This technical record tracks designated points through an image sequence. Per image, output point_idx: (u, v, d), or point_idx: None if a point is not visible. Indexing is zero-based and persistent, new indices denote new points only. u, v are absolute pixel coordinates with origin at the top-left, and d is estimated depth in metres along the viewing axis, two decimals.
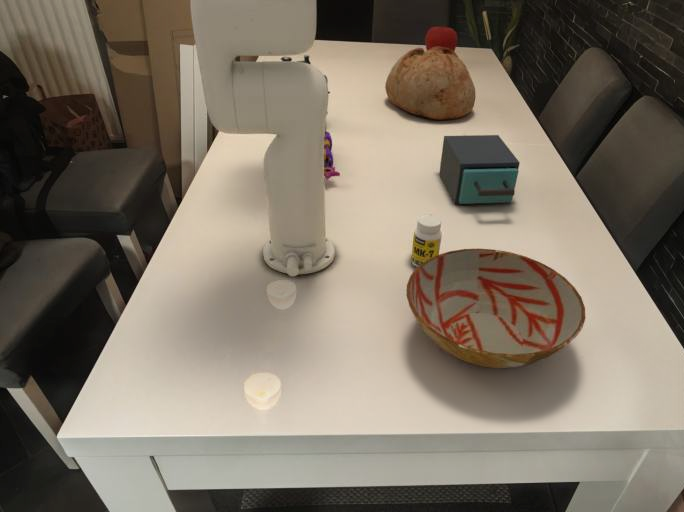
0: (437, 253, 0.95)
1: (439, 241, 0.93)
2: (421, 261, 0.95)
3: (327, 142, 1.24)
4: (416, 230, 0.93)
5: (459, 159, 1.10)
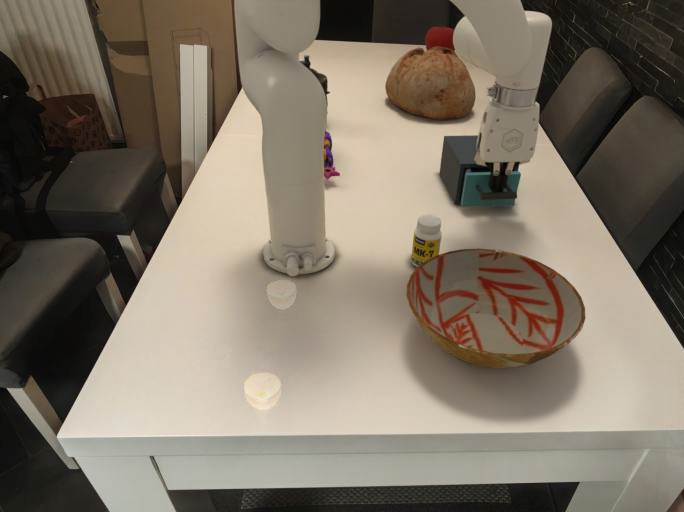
0: (437, 253, 0.95)
1: (439, 241, 0.93)
2: (421, 261, 0.95)
3: (327, 142, 1.24)
4: (416, 230, 0.93)
5: (459, 159, 1.10)
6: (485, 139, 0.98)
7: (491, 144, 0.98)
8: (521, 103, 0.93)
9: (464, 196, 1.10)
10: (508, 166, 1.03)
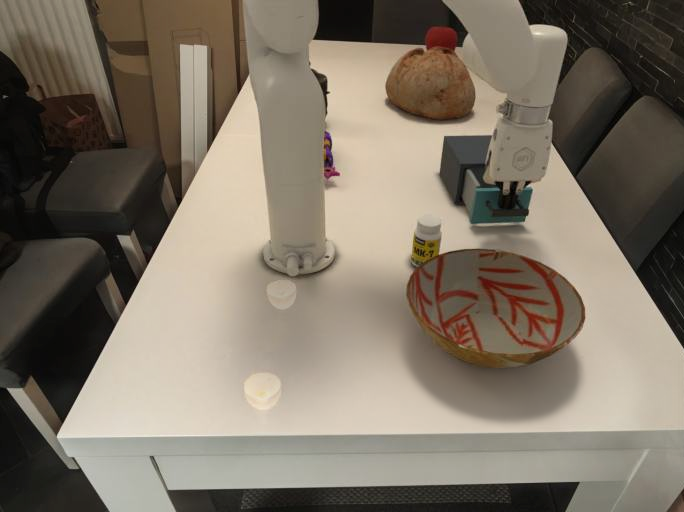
0: (437, 253, 0.95)
1: (439, 241, 0.93)
2: (421, 261, 0.95)
3: (327, 142, 1.24)
4: (416, 230, 0.93)
5: (459, 159, 1.10)
6: (495, 157, 0.93)
7: (502, 163, 0.94)
8: (534, 121, 0.88)
9: (473, 213, 1.05)
10: (518, 185, 0.99)
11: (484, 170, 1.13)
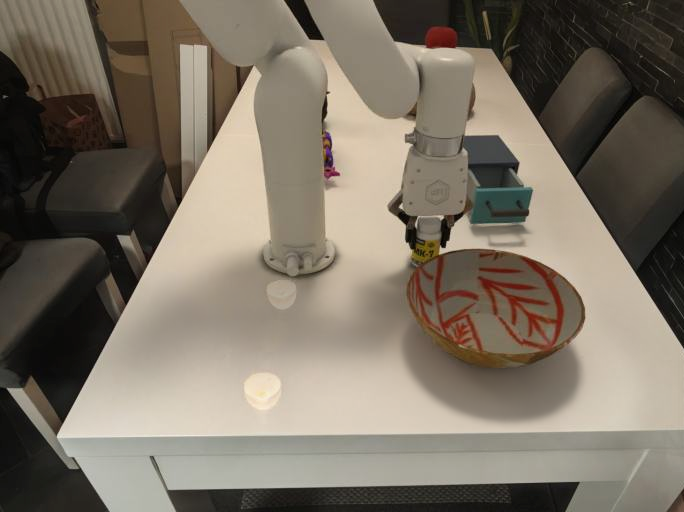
0: (437, 253, 0.95)
1: (439, 241, 0.93)
2: (421, 261, 0.95)
3: (327, 142, 1.24)
4: None
5: None
6: (406, 191, 0.85)
7: (414, 197, 0.86)
8: (443, 153, 0.80)
9: (473, 213, 1.05)
10: (447, 219, 0.91)
11: (484, 170, 1.13)
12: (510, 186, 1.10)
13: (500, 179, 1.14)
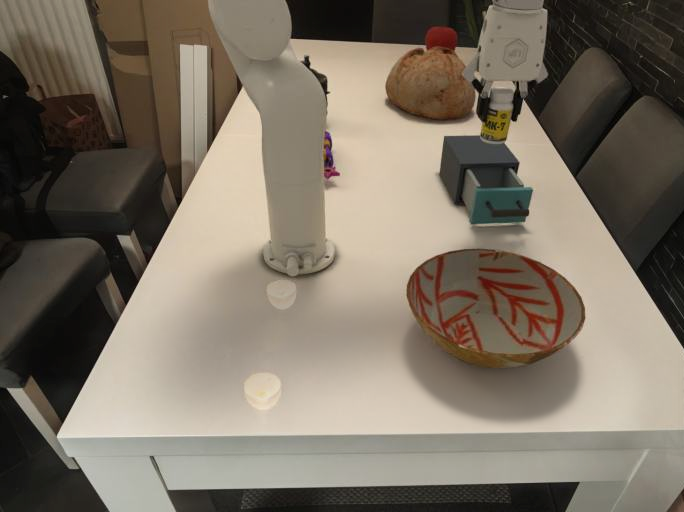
0: (508, 127, 0.95)
1: (511, 113, 0.94)
2: (491, 135, 0.95)
3: (327, 142, 1.24)
4: None
5: (459, 159, 1.10)
6: (485, 51, 0.86)
7: (492, 57, 0.86)
8: (526, 5, 0.81)
9: (473, 213, 1.05)
10: (521, 88, 0.91)
11: (484, 170, 1.13)
12: (510, 186, 1.10)
13: (500, 179, 1.14)
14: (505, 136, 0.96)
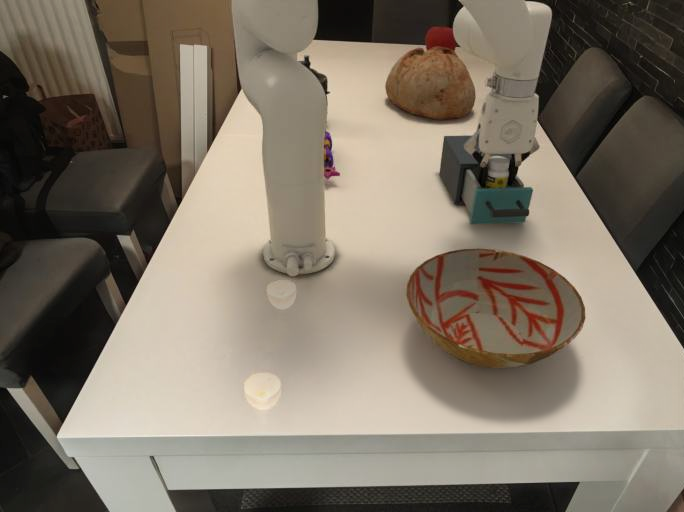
0: None
1: (507, 179, 1.06)
2: None
3: (327, 142, 1.24)
4: None
5: (459, 159, 1.10)
6: (484, 130, 0.98)
7: (490, 135, 0.98)
8: (520, 94, 0.93)
9: (473, 213, 1.05)
10: (516, 158, 1.03)
11: None
12: (510, 186, 1.10)
13: None
14: None
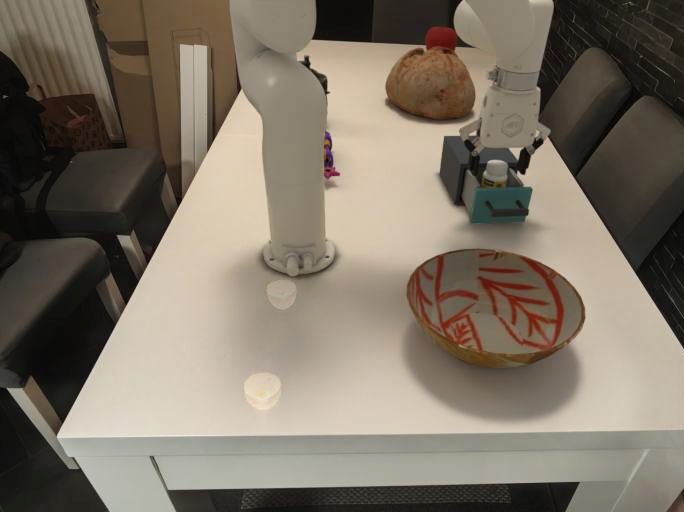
0: None
1: (505, 183, 1.06)
2: None
3: (327, 142, 1.24)
4: (485, 173, 1.06)
5: (459, 159, 1.10)
6: (485, 124, 0.97)
7: (491, 129, 0.97)
8: (522, 87, 0.92)
9: (473, 212, 1.05)
10: (527, 148, 1.02)
11: (484, 170, 1.13)
12: (510, 186, 1.10)
13: None
14: None
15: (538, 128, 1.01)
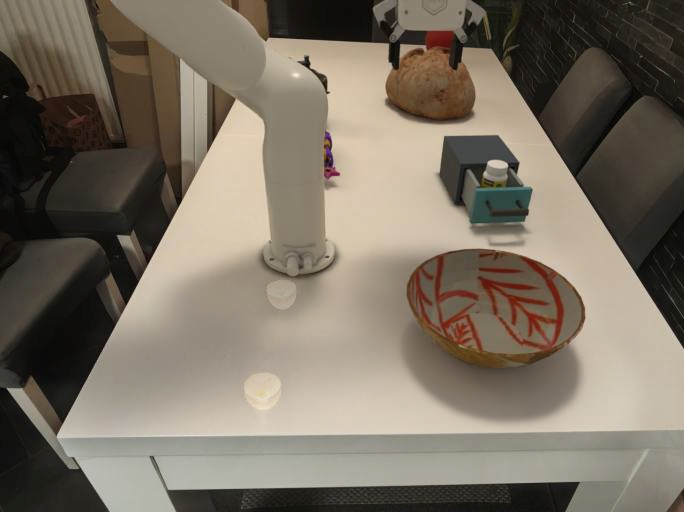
0: None
1: (505, 183, 1.06)
2: None
3: (327, 142, 1.24)
4: (485, 173, 1.06)
5: (459, 159, 1.10)
6: None
7: (409, 3, 0.80)
8: None
9: (473, 212, 1.05)
10: (457, 34, 0.85)
11: (484, 170, 1.13)
12: (510, 186, 1.10)
13: None
14: None
15: (469, 7, 0.83)
